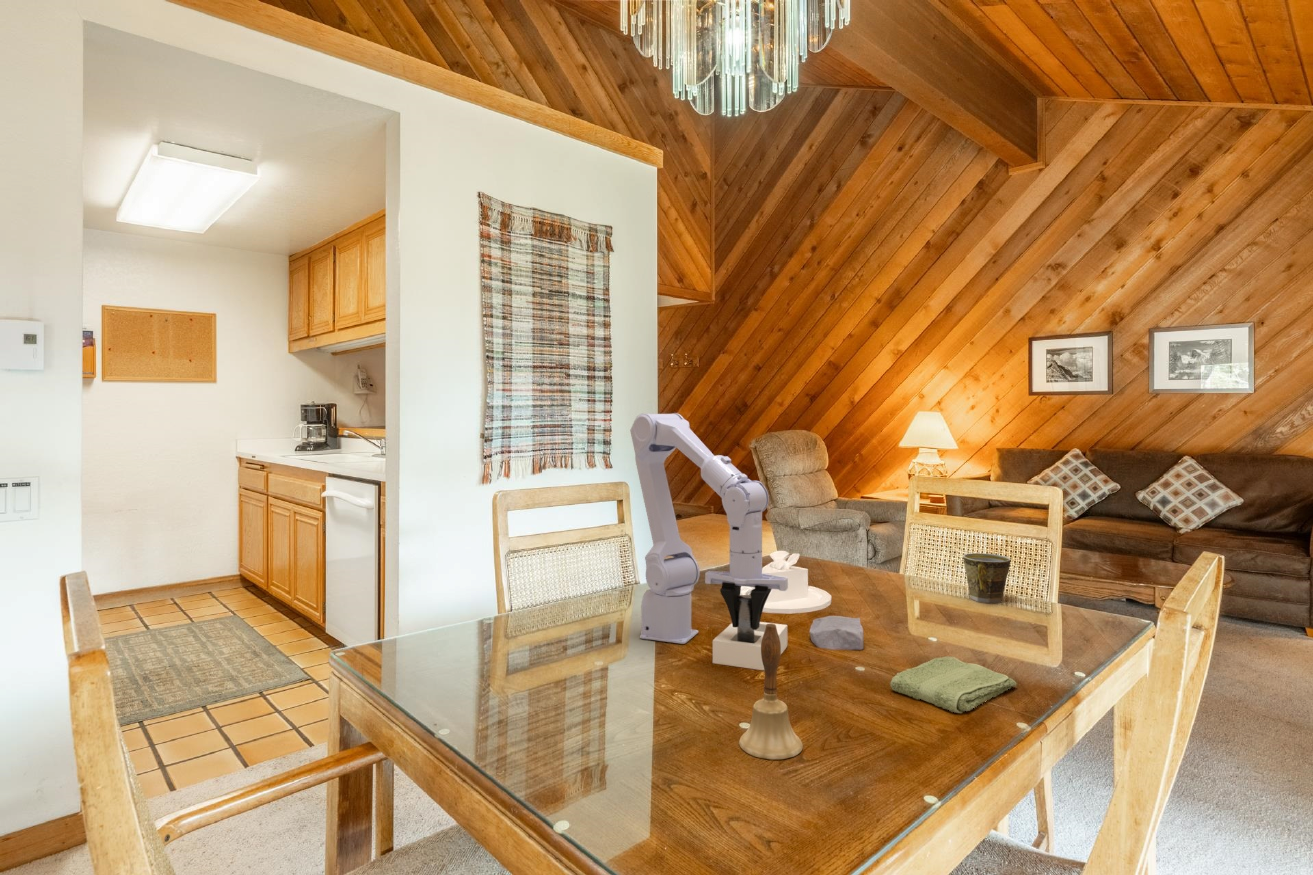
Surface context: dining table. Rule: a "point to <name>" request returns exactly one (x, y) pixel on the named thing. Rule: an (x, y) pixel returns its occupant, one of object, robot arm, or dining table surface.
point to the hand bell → (770, 711)
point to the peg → (744, 619)
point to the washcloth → (951, 683)
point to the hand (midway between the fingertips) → (745, 626)
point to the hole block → (744, 647)
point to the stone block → (837, 633)
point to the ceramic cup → (986, 576)
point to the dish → (791, 587)
